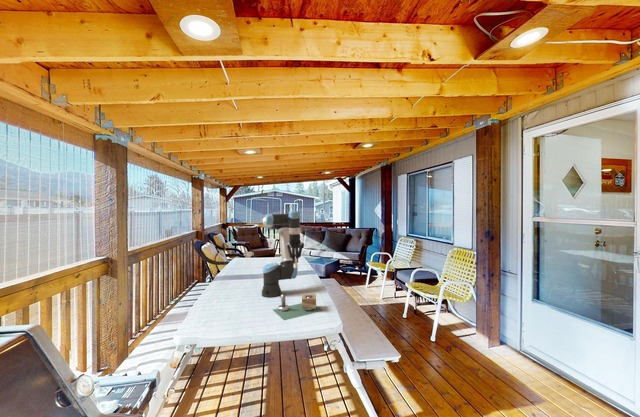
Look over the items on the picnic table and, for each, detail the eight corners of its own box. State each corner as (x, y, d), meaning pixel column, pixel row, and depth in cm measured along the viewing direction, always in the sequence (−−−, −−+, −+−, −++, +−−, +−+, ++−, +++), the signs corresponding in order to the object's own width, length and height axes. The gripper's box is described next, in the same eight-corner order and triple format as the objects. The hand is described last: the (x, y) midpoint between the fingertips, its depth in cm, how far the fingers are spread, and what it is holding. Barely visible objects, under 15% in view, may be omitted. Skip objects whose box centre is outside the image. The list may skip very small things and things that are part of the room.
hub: (301, 308, 193) (301, 296, 193) (311, 305, 197) (311, 294, 197) (306, 311, 186) (306, 299, 186) (317, 309, 190) (317, 297, 190)
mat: (272, 310, 191) (272, 309, 191) (309, 301, 205) (309, 301, 205) (284, 321, 174) (284, 320, 174) (323, 311, 188) (323, 310, 188)
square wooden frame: (302, 303, 196) (302, 294, 196) (316, 303, 196) (315, 294, 196) (302, 308, 187) (301, 299, 187) (315, 308, 187) (315, 299, 187)
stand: (276, 309, 192) (276, 294, 192) (286, 306, 196) (286, 292, 195) (280, 312, 186) (280, 297, 186) (290, 310, 190) (290, 295, 189)
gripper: (288, 235, 192) (289, 270, 193) (305, 233, 198) (306, 267, 199) (283, 233, 198) (284, 267, 199) (300, 232, 205) (301, 265, 206)
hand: (295, 267), depth 199 cm, fingers closed
